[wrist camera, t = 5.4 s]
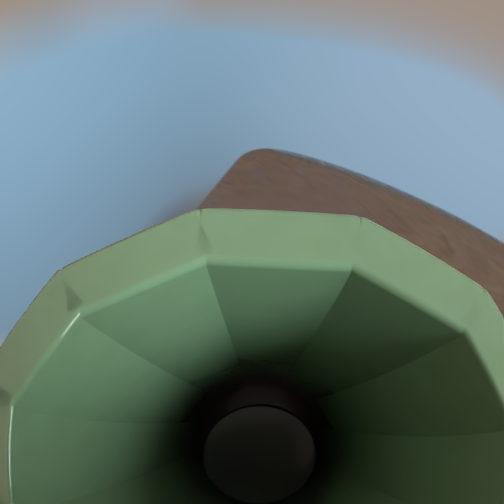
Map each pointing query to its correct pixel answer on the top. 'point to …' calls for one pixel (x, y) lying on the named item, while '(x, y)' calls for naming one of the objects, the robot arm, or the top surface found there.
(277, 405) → the stand
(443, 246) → the top surface
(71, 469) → the green faceted tube
